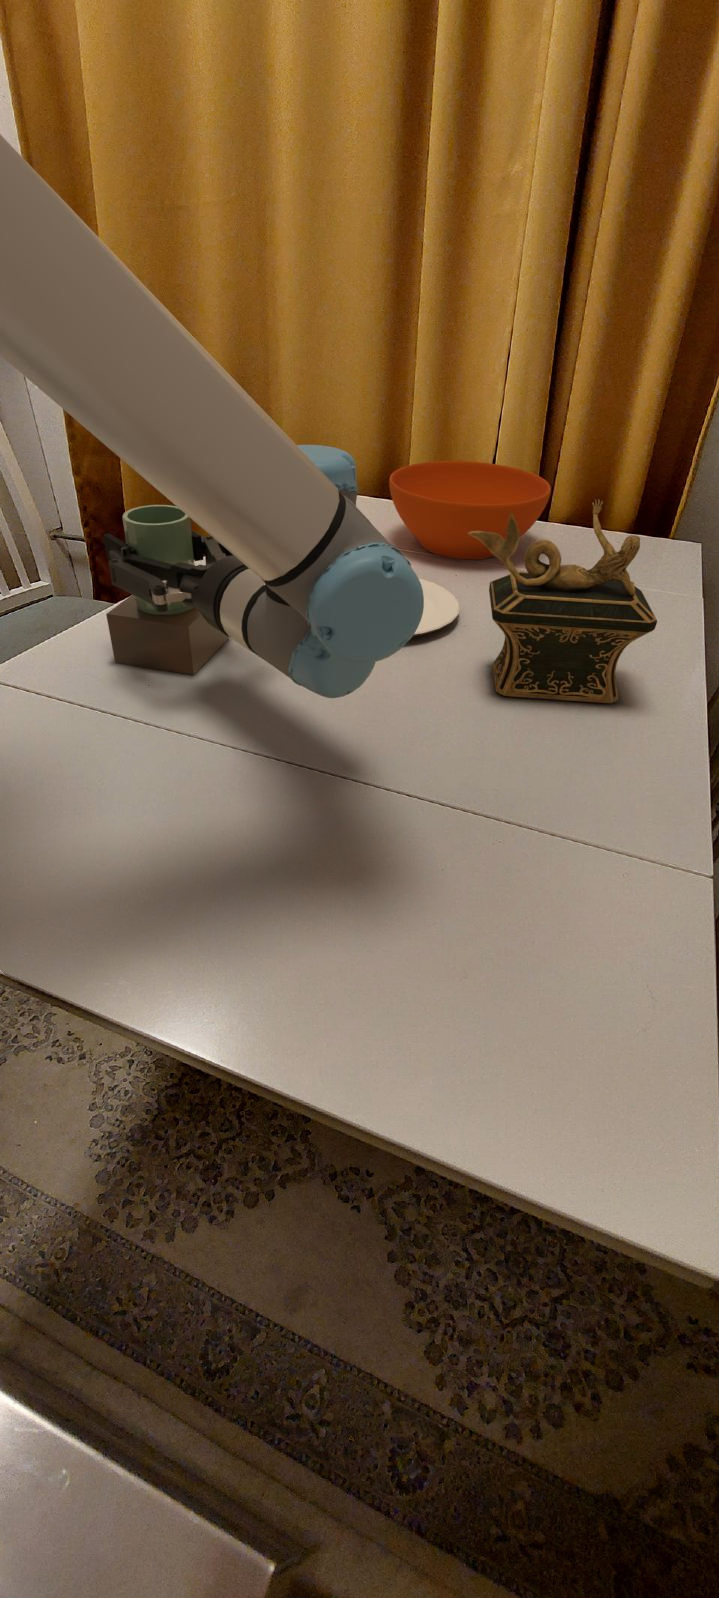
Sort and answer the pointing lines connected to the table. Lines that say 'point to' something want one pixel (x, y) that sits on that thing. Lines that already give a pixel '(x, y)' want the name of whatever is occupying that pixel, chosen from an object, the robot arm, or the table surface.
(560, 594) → the decorative box
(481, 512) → the bowl
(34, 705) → the table surface
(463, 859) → the table surface
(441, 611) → the plate
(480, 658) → the table surface
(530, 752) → the table surface
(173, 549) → the cup
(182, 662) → the block
